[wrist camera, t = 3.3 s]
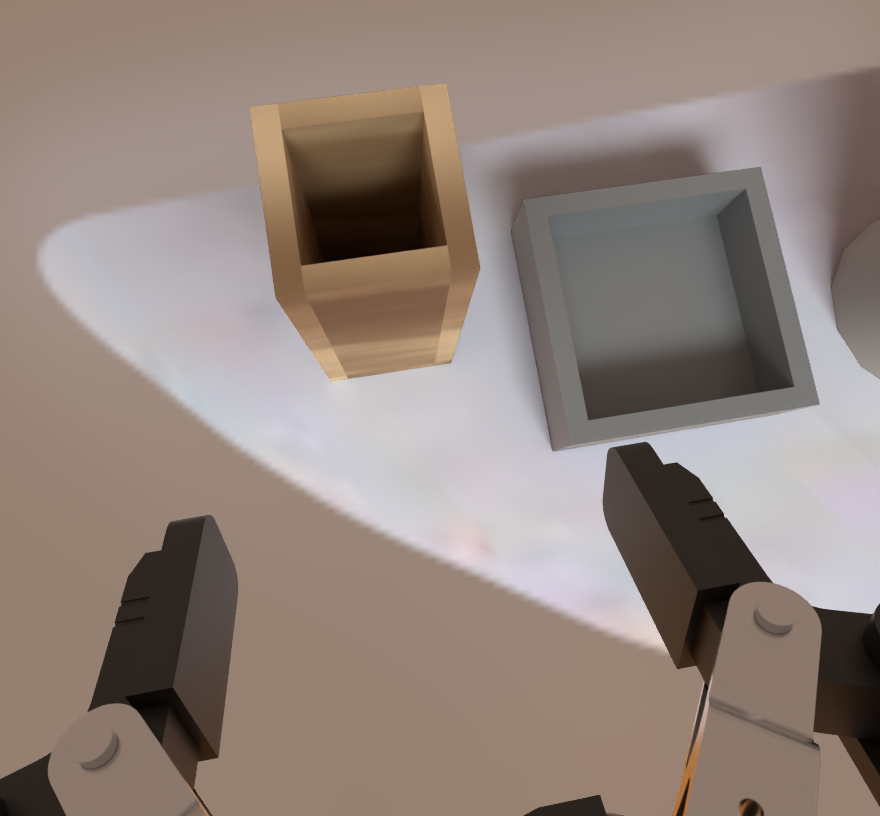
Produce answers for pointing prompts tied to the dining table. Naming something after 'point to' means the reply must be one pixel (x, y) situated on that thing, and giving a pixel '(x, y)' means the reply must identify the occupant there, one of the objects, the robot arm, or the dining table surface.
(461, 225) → the oak crate
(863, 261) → the cup
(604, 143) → the dining table surface
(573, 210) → the tray
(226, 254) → the dining table surface
